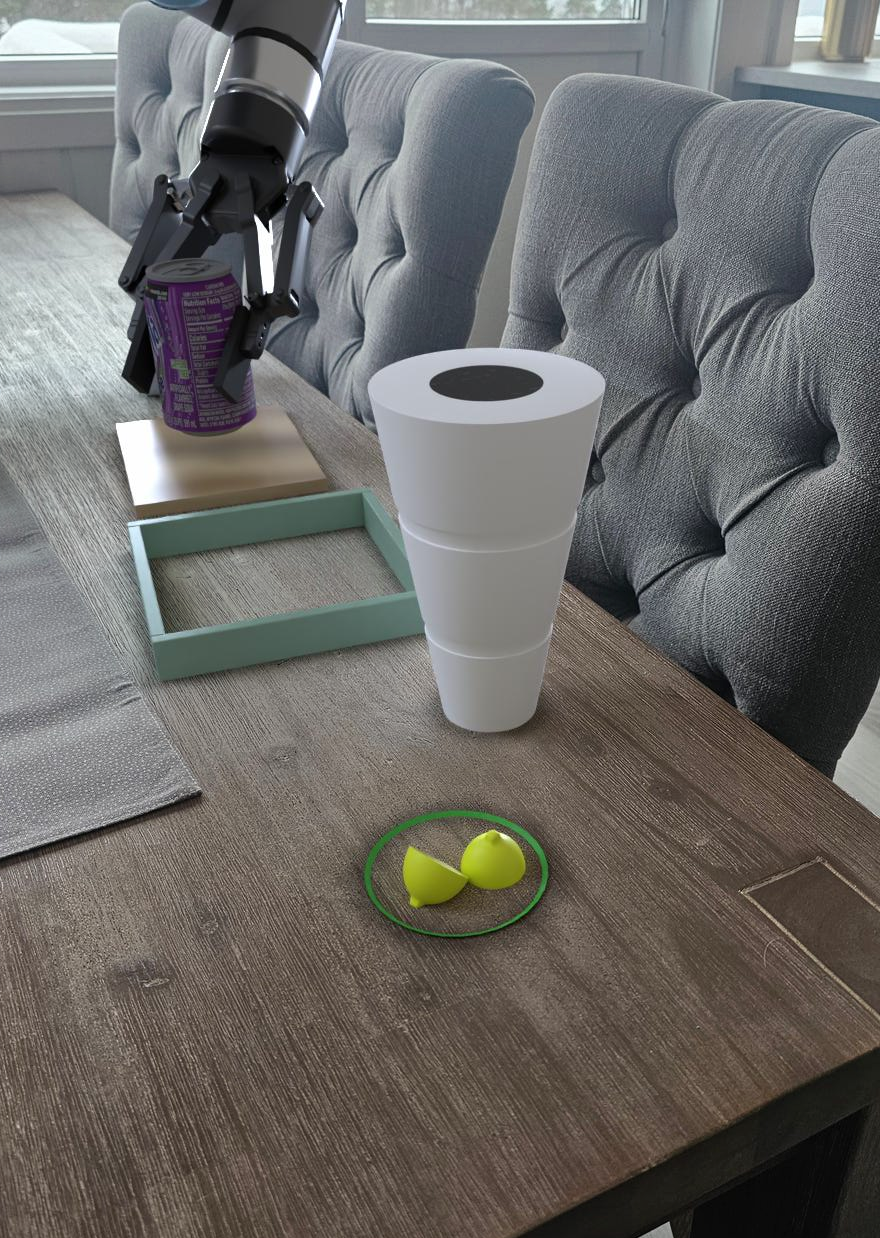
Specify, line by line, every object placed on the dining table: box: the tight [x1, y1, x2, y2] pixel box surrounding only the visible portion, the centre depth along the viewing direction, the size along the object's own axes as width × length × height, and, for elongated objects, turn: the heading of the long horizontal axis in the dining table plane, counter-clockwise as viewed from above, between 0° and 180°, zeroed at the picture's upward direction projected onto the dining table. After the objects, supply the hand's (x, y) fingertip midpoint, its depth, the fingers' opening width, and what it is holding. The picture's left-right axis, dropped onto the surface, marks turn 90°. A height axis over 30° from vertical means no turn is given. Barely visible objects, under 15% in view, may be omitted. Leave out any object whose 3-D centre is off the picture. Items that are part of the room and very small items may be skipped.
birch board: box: [114, 403, 329, 520], centre depth 89 cm, size 18×14×2 cm
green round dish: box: [363, 810, 549, 937], centre depth 48 cm, size 8×8×3 cm
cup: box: [367, 347, 606, 733], centre depth 55 cm, size 11×11×18 cm
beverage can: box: [143, 257, 257, 437], centre depth 85 cm, size 7×7×12 cm
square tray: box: [126, 486, 426, 683], centre depth 70 cm, size 17×17×3 cm
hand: (179, 389), depth 83 cm, fingers closed on beverage can, 7 cm apart
